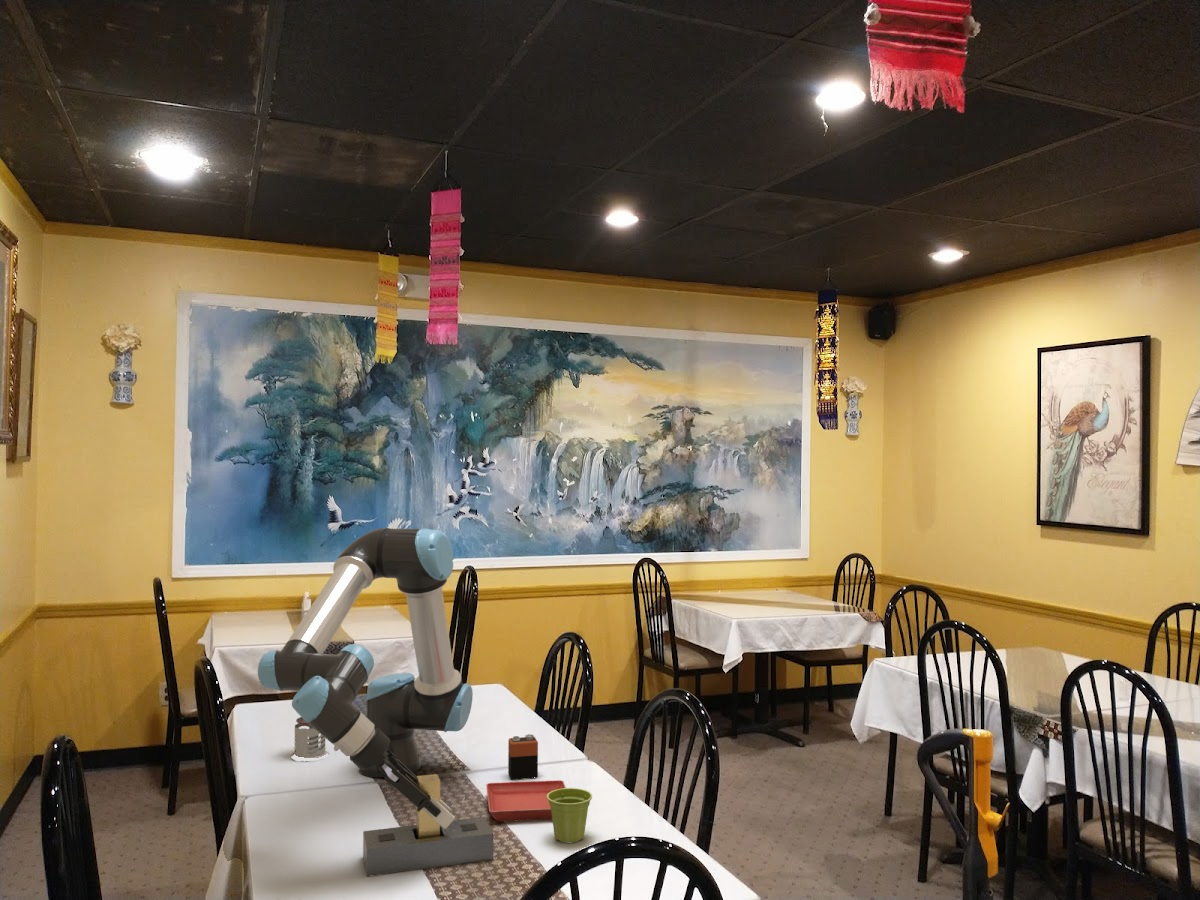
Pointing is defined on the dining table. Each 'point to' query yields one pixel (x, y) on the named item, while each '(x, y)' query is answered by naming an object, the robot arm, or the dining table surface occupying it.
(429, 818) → the brass post
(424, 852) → the gray socket block
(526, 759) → the battery
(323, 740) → the french press
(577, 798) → the plant pot
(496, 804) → the plant saucer
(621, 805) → the dining table surface
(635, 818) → the dining table surface
